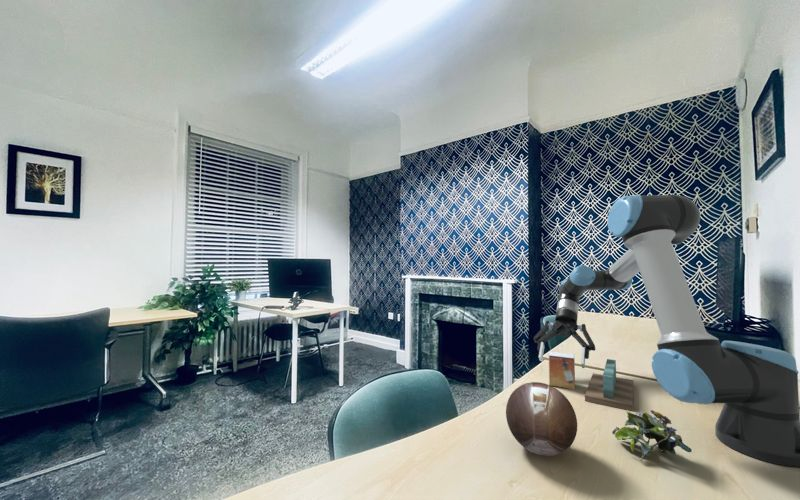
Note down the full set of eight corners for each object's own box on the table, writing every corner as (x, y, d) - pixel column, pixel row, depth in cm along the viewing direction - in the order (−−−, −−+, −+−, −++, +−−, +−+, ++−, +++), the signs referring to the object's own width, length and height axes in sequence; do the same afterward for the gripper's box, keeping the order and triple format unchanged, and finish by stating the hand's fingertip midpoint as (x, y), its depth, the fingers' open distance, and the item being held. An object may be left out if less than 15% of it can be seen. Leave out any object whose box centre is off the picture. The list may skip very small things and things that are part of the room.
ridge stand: (632, 411, 92) (631, 382, 93) (584, 400, 99) (584, 374, 100) (633, 384, 112) (632, 360, 112) (593, 377, 119) (592, 355, 119)
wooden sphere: (514, 469, 68) (512, 396, 68) (501, 431, 82) (500, 372, 83) (590, 474, 66) (588, 399, 66) (563, 434, 80) (561, 374, 81)
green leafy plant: (662, 475, 73) (704, 444, 68) (640, 484, 67) (683, 450, 63) (619, 427, 82) (653, 397, 77) (596, 431, 76) (631, 398, 72)
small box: (549, 385, 112) (548, 355, 112) (549, 380, 116) (549, 351, 117) (575, 389, 108) (574, 358, 108) (575, 384, 113) (574, 353, 113)
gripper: (605, 322, 121) (603, 374, 109) (535, 316, 136) (526, 361, 123) (603, 310, 117) (601, 363, 105) (531, 305, 132) (522, 351, 119)
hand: (560, 362), depth 114 cm, fingers open, 13 cm apart
